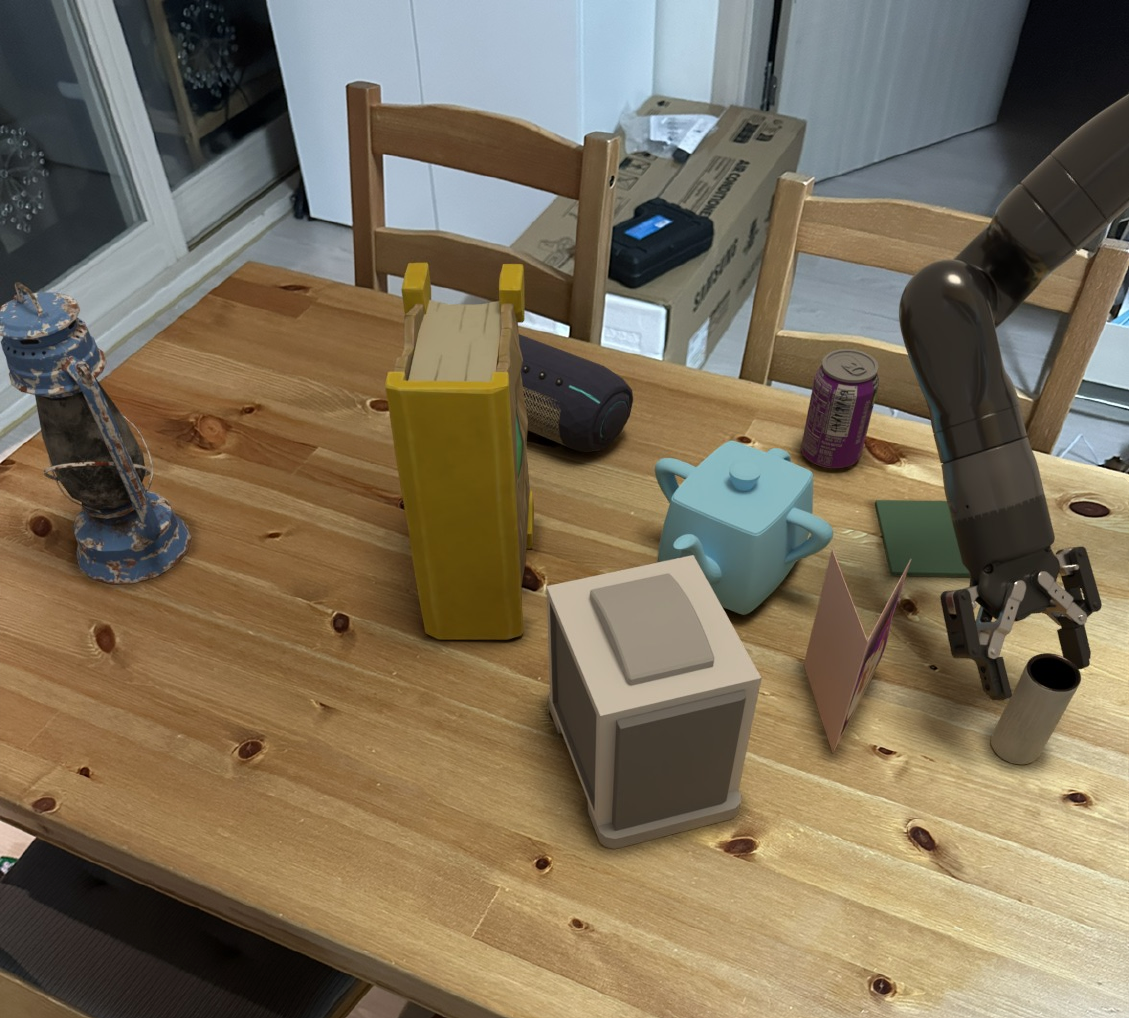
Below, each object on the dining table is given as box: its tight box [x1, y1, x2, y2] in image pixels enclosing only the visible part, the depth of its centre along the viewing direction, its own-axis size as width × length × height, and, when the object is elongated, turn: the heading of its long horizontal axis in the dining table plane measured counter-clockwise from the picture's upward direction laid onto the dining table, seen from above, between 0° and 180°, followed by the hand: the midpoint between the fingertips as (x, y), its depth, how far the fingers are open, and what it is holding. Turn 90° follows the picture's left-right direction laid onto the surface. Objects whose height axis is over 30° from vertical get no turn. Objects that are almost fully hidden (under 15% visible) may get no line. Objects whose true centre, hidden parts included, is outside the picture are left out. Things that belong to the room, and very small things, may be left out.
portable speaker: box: [519, 333, 634, 453], centre depth 127 cm, size 25×10×10 cm, turn 55°
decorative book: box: [384, 262, 535, 640], centre depth 102 cm, size 20×11×30 cm, turn 177°
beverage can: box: [800, 348, 880, 469], centre depth 122 cm, size 7×7×12 cm
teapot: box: [654, 440, 834, 616], centre depth 108 cm, size 18×16×14 cm
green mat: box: [874, 499, 970, 578], centre depth 117 cm, size 14×12×1 cm
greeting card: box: [803, 548, 911, 754], centre depth 97 cm, size 11×7×15 cm, turn 151°
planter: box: [990, 652, 1082, 765], centre depth 95 cm, size 4×4×10 cm
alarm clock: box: [546, 555, 762, 850], centre depth 92 cm, size 18×13×18 cm
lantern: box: [0, 281, 193, 585], centre depth 106 cm, size 15×12×30 cm
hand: (1040, 683), depth 93 cm, fingers open, 8 cm apart
